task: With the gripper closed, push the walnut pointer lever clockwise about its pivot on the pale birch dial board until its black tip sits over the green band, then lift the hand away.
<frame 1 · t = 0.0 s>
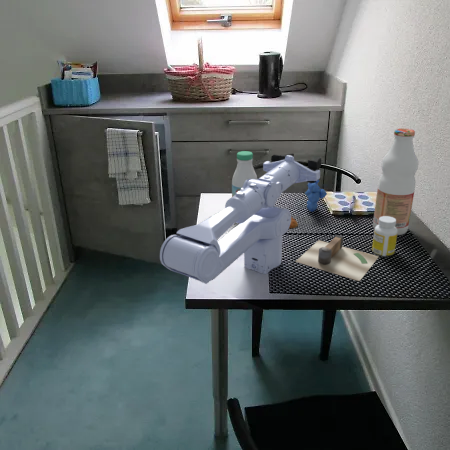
hand: (306, 159, 113), 22 cm above the table, tool horizontal, fingers open, 7 cm apart
dial board: (337, 262, 108), on the table
pointer lever: (331, 248, 108), point 3 cm above the table, hinge at 0.0°
grapes: (314, 212, 137), on the table
fruit juice: (389, 229, 124), on the table
pastry: (281, 226, 129), on the table
supplement bottle: (382, 255, 111), on the table
milk bottle: (245, 217, 134), on the table
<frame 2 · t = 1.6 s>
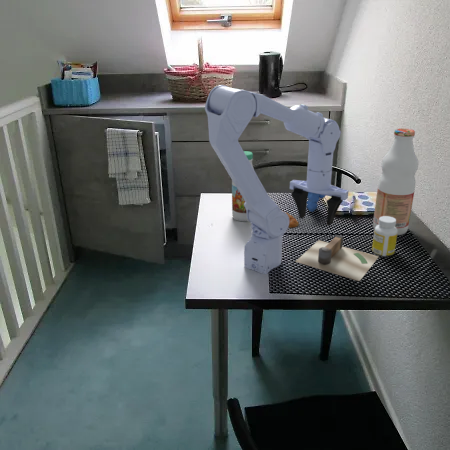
hand: (315, 220, 111), 8 cm above the table, tool pointing down, fingers open, 7 cm apart
nothing on the table moved.
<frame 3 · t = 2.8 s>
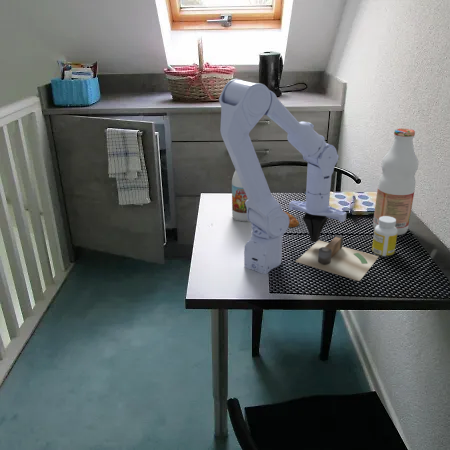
hand: (314, 240, 113), 3 cm above the table, tool pointing down, fingers closed
nothing on the table moved.
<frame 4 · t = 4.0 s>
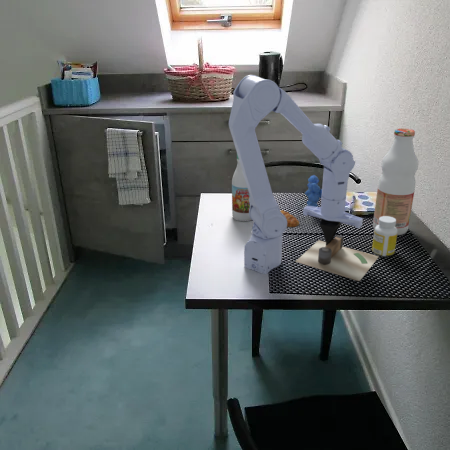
hand: (329, 246, 111), 2 cm above the table, tool pointing down, fingers closed, pressing on pointer lever
pointer lever: (331, 248, 108), point 3 cm above the table, hinge at -0.4°, touching gripper
everything else where it was.
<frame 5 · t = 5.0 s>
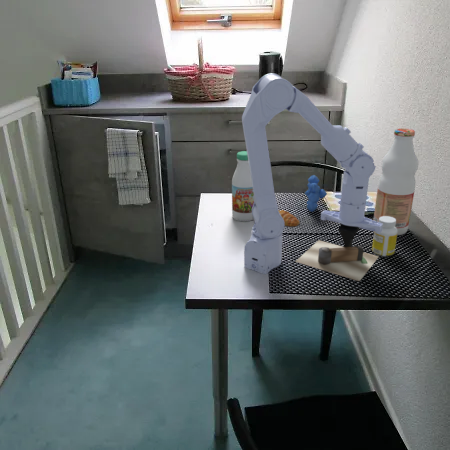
hand: (347, 251, 108), 2 cm above the table, tool pointing down, fingers closed, pressing on pointer lever
pointer lever: (340, 253, 106), point 3 cm above the table, hinge at -48.4°, touching gripper
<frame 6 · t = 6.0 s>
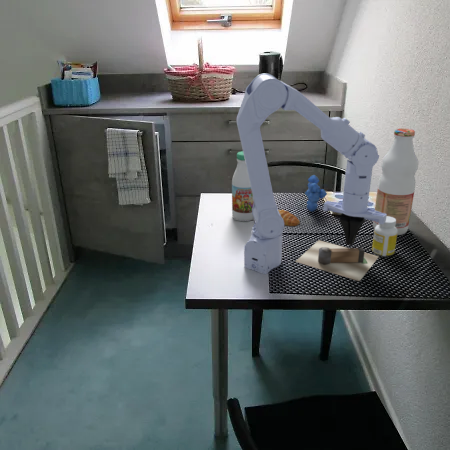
hand: (350, 243, 107), 5 cm above the table, tool pointing down, fingers closed
pointer lever: (340, 254, 105), point 3 cm above the table, hinge at -54.8°
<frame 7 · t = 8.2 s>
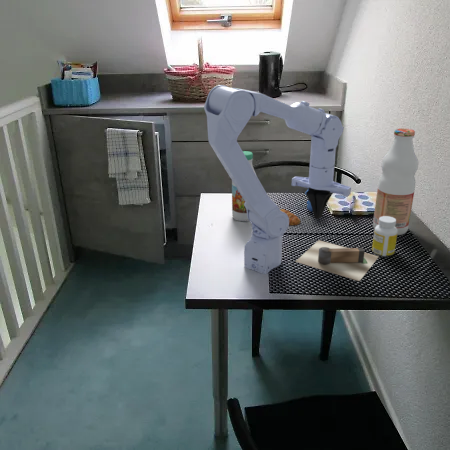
hand: (318, 217, 110), 9 cm above the table, tool pointing down, fingers closed
at the end: pointer lever at -55° (first picture: +0°); supplement bottle moved 0.2 cm from its start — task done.
